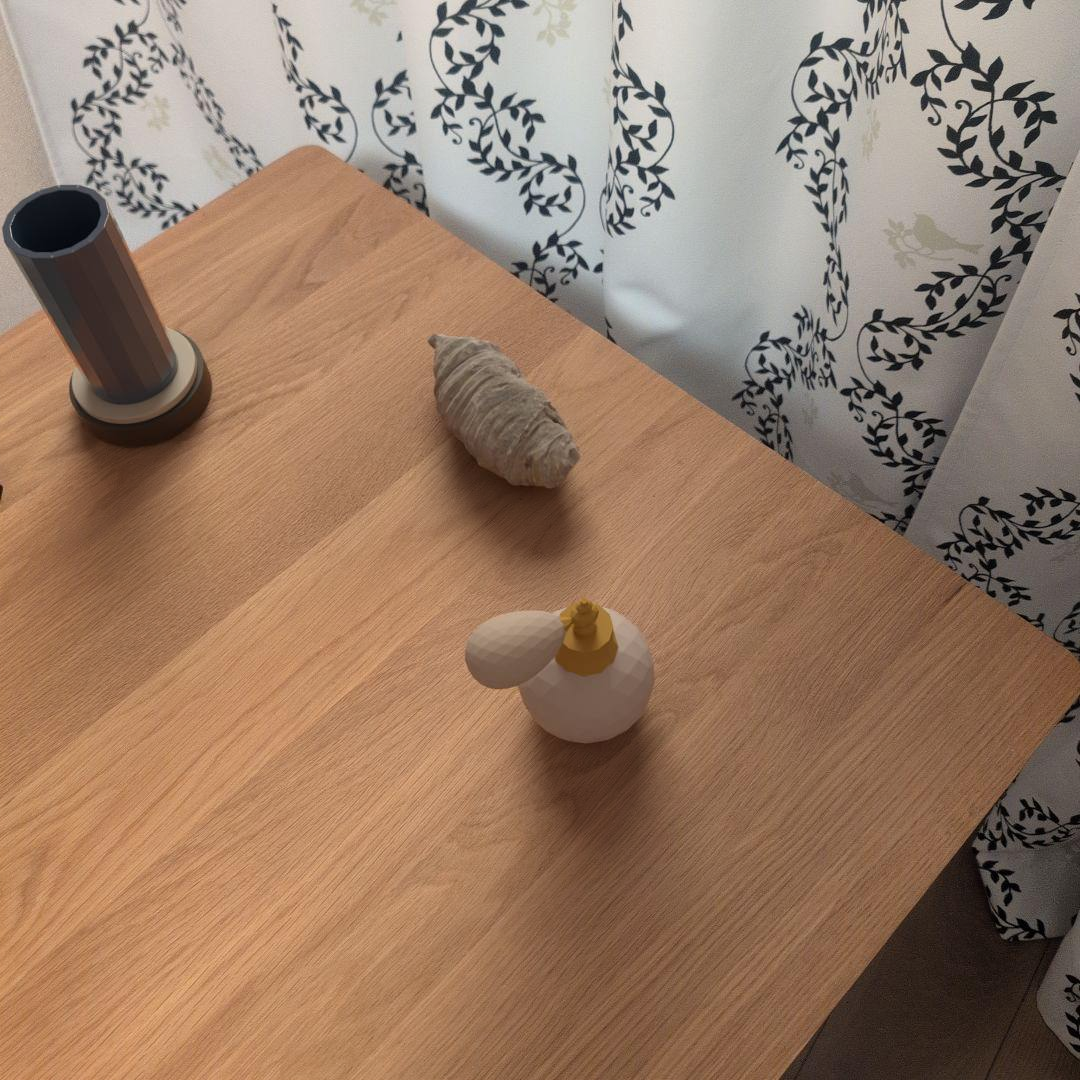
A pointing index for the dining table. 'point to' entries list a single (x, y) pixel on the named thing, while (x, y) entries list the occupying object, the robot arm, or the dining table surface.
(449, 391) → the taro root
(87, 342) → the cup
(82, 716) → the dining table surface
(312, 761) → the dining table surface
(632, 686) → the perfume bottle
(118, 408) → the beige and brown disc
